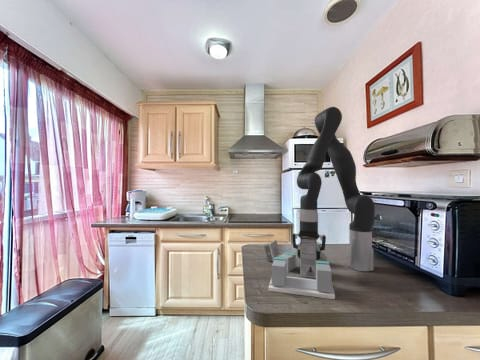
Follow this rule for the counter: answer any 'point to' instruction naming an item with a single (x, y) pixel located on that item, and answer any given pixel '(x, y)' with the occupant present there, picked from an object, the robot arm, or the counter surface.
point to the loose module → (289, 260)
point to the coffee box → (308, 257)
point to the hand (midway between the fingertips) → (308, 258)
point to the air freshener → (322, 254)
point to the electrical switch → (272, 250)
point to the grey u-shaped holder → (302, 280)
